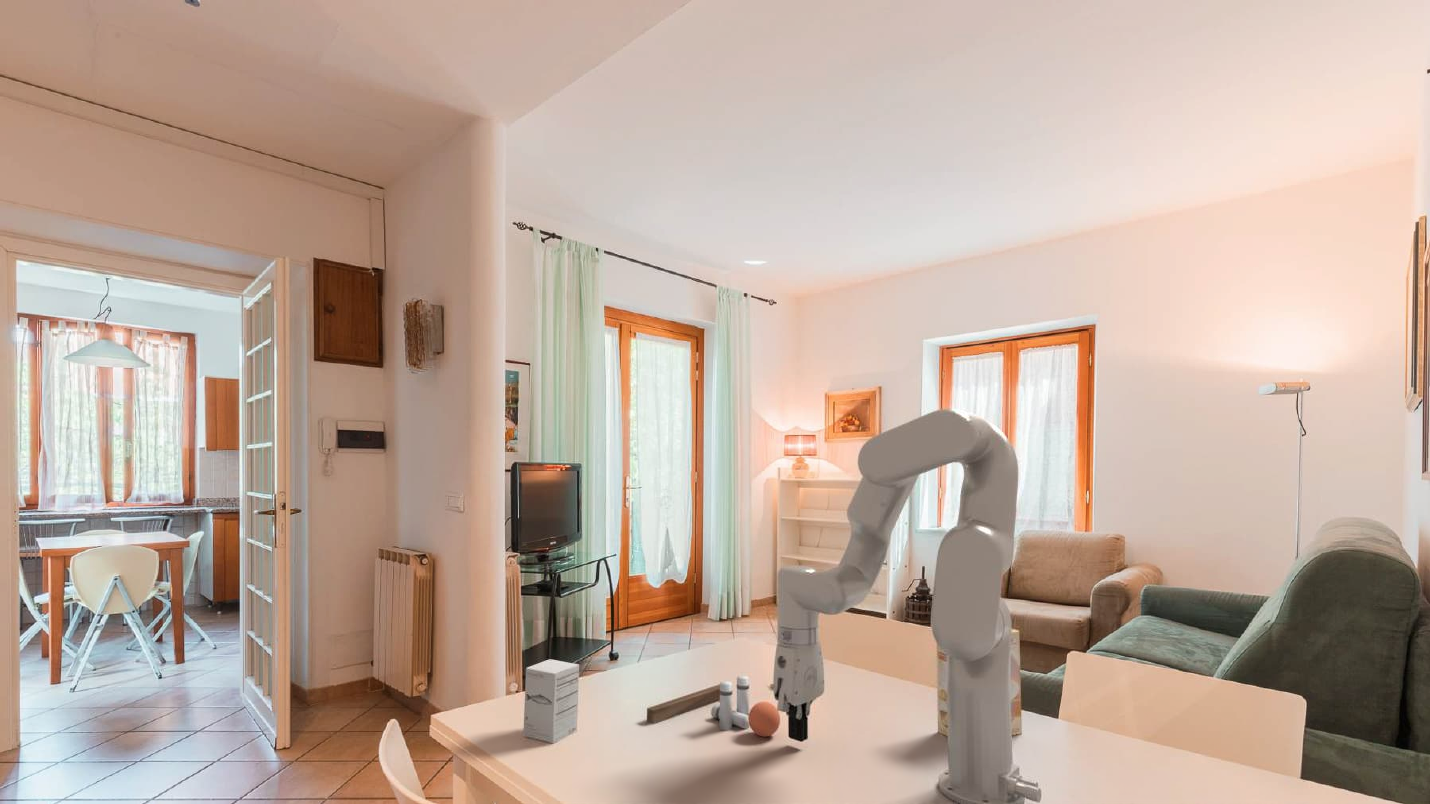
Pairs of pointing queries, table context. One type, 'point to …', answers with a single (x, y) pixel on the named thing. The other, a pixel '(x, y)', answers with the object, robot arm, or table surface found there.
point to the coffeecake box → (1015, 687)
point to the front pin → (737, 717)
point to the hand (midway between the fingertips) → (798, 738)
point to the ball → (764, 719)
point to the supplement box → (551, 700)
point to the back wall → (683, 704)
